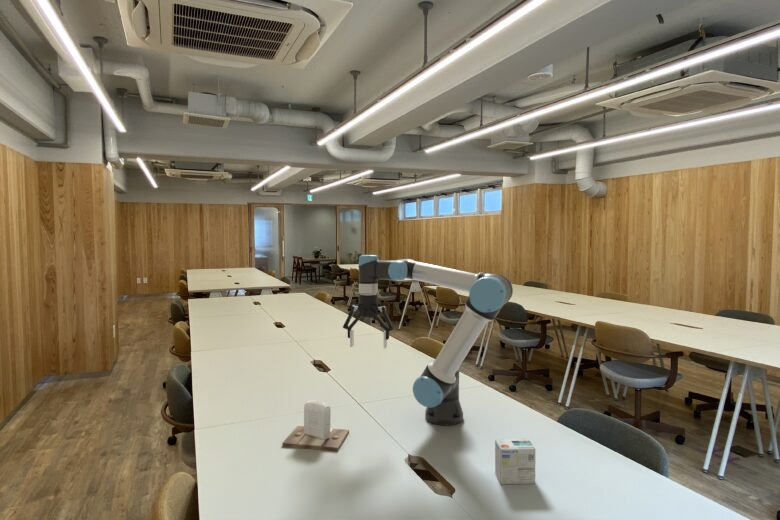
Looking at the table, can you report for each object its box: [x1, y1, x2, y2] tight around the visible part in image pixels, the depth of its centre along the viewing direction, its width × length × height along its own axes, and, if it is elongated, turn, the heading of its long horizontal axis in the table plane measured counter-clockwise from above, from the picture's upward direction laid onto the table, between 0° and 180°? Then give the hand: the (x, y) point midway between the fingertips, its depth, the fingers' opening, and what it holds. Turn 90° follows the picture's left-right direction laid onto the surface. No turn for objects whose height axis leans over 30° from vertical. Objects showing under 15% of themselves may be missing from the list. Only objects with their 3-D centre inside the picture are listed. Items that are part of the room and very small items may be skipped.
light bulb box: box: [494, 438, 536, 485], centre depth 131 cm, size 11×7×11 cm, turn 92°
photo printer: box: [303, 399, 331, 439], centre depth 156 cm, size 10×4×12 cm, turn 60°
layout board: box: [281, 425, 350, 452], centre depth 156 cm, size 20×14×2 cm
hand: (368, 346), depth 174 cm, fingers open, 13 cm apart
